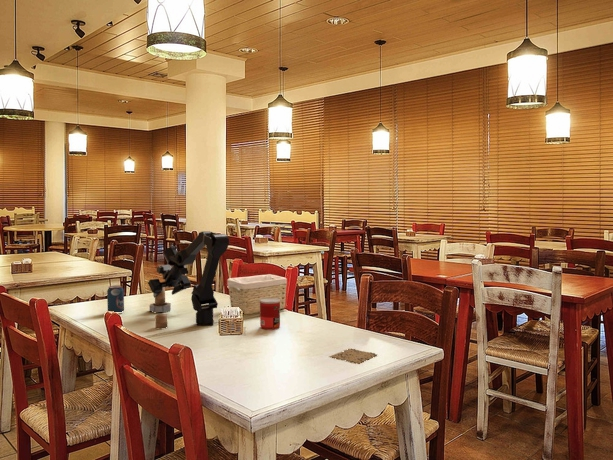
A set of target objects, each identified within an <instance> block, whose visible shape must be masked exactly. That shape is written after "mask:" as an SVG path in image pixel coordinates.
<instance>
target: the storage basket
mask: <svg viewBox="0 0 613 460" xmlns="http://www.w3.org/2000/svg"><path fill="white" fill-rule="evenodd" d="M226 281H227V287H228V294H229V301H230V308H231V307H239V308H240V309H241V310H242V311H243V313H244V314H243V315H252V314H260V300H261V299H266V298H274V299H279V300H280V310H282V309H284V308H286V296H287V295H286V294H287V288H288V287H287V286H288V279H287V277H283V276H279V275H276V274H271V273H268V274H260V275H252V276H242V277H241V276H239V277H229V278H228V279H226Z"/></svg>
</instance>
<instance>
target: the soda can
mask: <svg viewBox="0 0 613 460" xmlns="http://www.w3.org/2000/svg"><path fill="white" fill-rule="evenodd" d="M124 291H125V290H124V288H123V286H122V285H118V284H117V285H109V286H108V289H107V291H106V294H107V297H106V298H107V301H106V302H107V312H108V311H114V312H122V311H123V312H124V311H125V299H124V298H125V292H124Z"/></svg>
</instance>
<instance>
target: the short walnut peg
mask: <svg viewBox="0 0 613 460" xmlns="http://www.w3.org/2000/svg"><path fill="white" fill-rule="evenodd" d="M166 327H167V328H168V314H166V313H157V314H155V329H156V328H165V329H167V328H166Z"/></svg>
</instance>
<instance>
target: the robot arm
mask: <svg viewBox="0 0 613 460" xmlns="http://www.w3.org/2000/svg"><path fill="white" fill-rule="evenodd" d="M229 245H230V238H229V237H228V235H227V234H225V233H217V232H213V231H210V230H207V231H200V232H198V234H197V236H196V237H195V238H194V239H193V241H192V242H190V243H189V245H188V246H186V247H185V248H183V249H181V250H179V251H177V249H176V246H175V245H171V246H169V247H168V248H167V249H165V250H164V251H163V252H162V255H163V256H164V259H165V260H166V262H167V264H162V265H161V264H160V265H158V266H157V267H156V272H157V273H158V274H159V275H162V279H163V280H164V281H163V282H161V281H160V279H159V278H152V279H149V281H148V282H147V284H148V286H149V288H150V291H151V293H153V294H152V296H153V298H154V299H155V297H157V296H158V295H159V294H160V293H161V291H162V290H163V288H165V289H166V288H172V291H171V295H172V296H173V295H176V294H178V293H180V292H182V291H184V290H187V289H189V288H190V287H191V285H192V283H191V280H190V279H189V276H188V274H189V270H188V268H187V267H188V266H191V265H193V264H194V262H195V261H196V259H197V255H198V254H199V252H200V251H201V250H203V248H204V247H205V248H206V250H207V256H206V261H205V264H204V268H203V271H202V275H201V279H200V281H199V284H194V286H193V287H192V291H191V293H190V295H191V298H190V299H191V300H190V301H191V305H192V308H193V310H194V311H195V324H196V326H213V325H214V323H215V320H214V309H217V308H218V304H219V303H218V302H217V299H216V298H215V295H214V294H215V292H214V289H213V283H214V282H215V281H214V279H215V277H216V273H217V270H218V266H219V264H220V263H219V262H220V260H221V256H223V255H224V254H225V252H227V250H228V247H229Z"/></svg>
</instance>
